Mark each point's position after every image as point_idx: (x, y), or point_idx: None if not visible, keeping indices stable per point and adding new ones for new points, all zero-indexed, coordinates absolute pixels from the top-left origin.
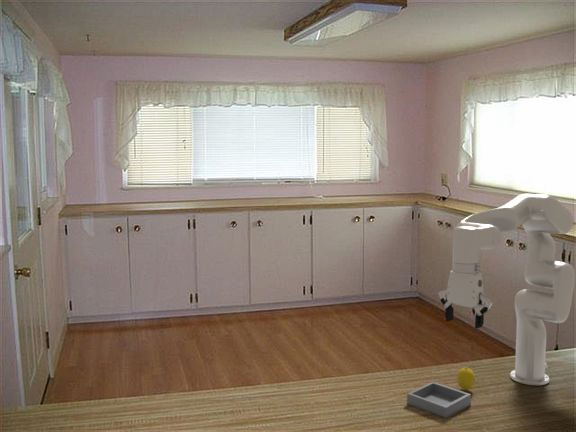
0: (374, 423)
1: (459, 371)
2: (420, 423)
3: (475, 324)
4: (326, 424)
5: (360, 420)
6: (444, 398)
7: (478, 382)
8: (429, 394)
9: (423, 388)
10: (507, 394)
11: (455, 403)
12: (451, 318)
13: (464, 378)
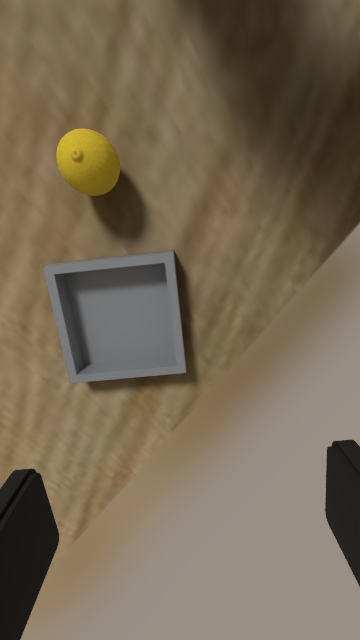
0: (111, 477)
1: (65, 176)
2: (165, 414)
3: (345, 550)
4: (66, 535)
5: (86, 487)
6: (112, 280)
7: (78, 71)
8: (71, 292)
9: (65, 323)
10: (196, 83)
11: (181, 331)
12: (38, 510)
13: (100, 189)
